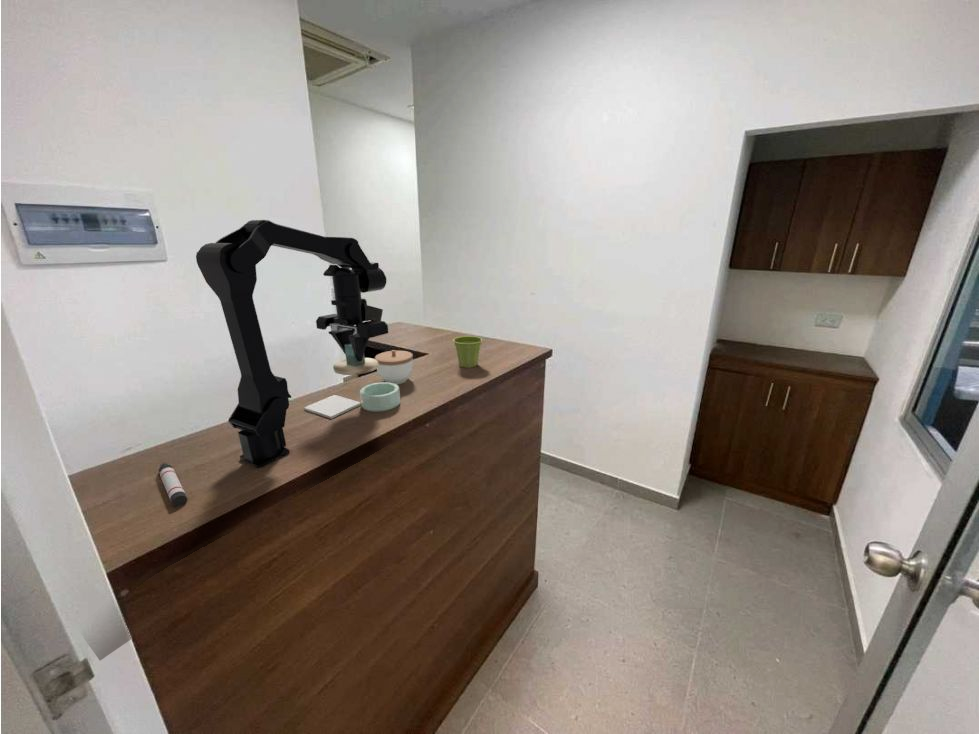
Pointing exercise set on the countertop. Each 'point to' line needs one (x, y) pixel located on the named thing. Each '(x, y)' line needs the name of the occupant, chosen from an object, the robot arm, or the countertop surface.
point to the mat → (332, 406)
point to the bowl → (380, 396)
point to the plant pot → (468, 350)
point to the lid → (354, 364)
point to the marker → (172, 485)
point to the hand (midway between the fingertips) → (355, 360)
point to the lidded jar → (395, 366)
